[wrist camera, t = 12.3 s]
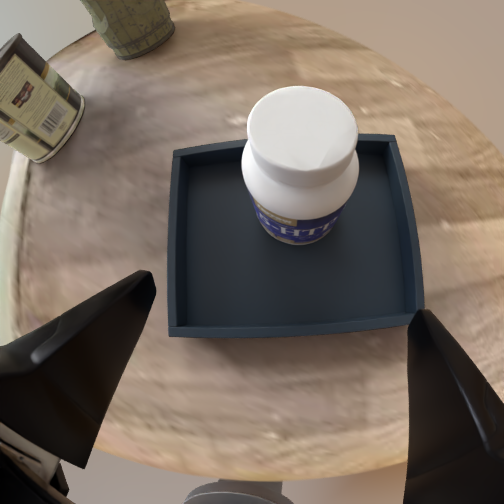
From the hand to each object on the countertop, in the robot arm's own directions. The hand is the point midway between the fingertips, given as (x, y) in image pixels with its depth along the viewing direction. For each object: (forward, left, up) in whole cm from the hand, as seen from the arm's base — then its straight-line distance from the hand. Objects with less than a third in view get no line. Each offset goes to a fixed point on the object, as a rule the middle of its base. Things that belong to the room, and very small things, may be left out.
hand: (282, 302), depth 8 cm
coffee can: (+21, +26, -9) cm, 35 cm away
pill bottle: (+6, -1, -8) cm, 10 cm away
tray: (+4, -1, -9) cm, 10 cm away
